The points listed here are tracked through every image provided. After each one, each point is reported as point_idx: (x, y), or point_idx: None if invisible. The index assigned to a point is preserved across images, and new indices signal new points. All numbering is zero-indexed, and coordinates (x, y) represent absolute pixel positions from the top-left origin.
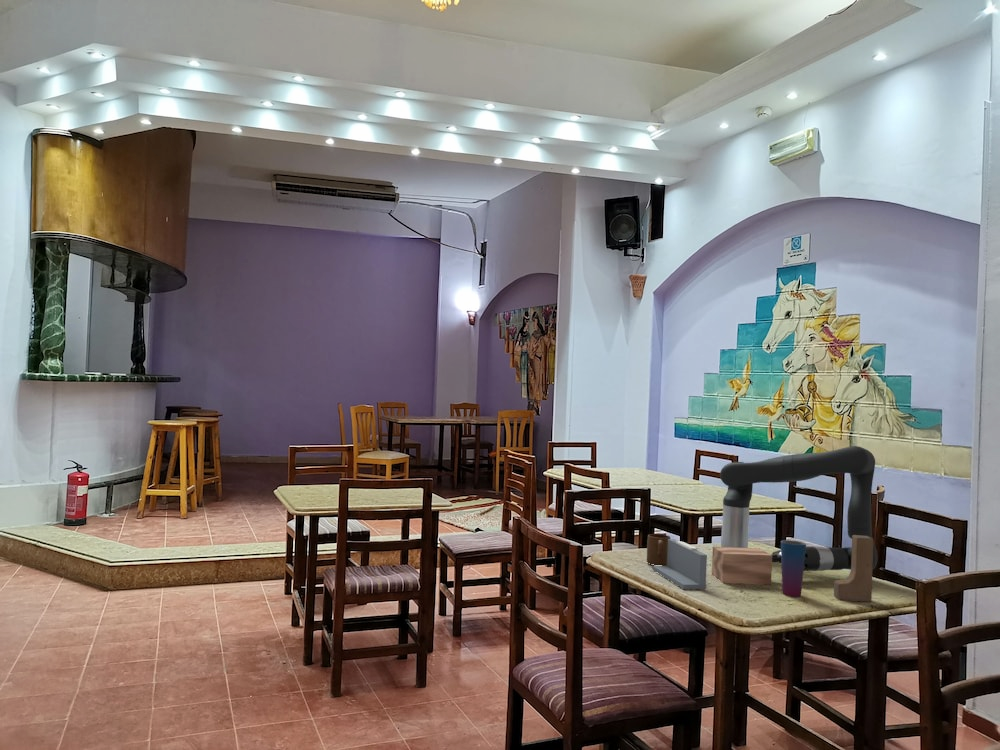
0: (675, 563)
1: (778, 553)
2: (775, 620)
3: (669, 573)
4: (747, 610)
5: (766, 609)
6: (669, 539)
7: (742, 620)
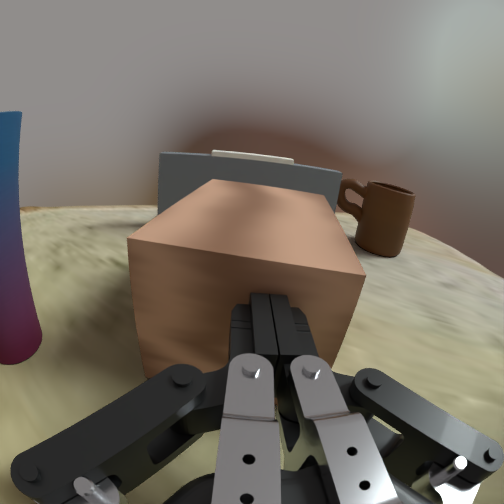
0: None
1: (410, 436)
2: None
3: None
4: (35, 224)
5: None
6: (334, 170)
7: (23, 210)
